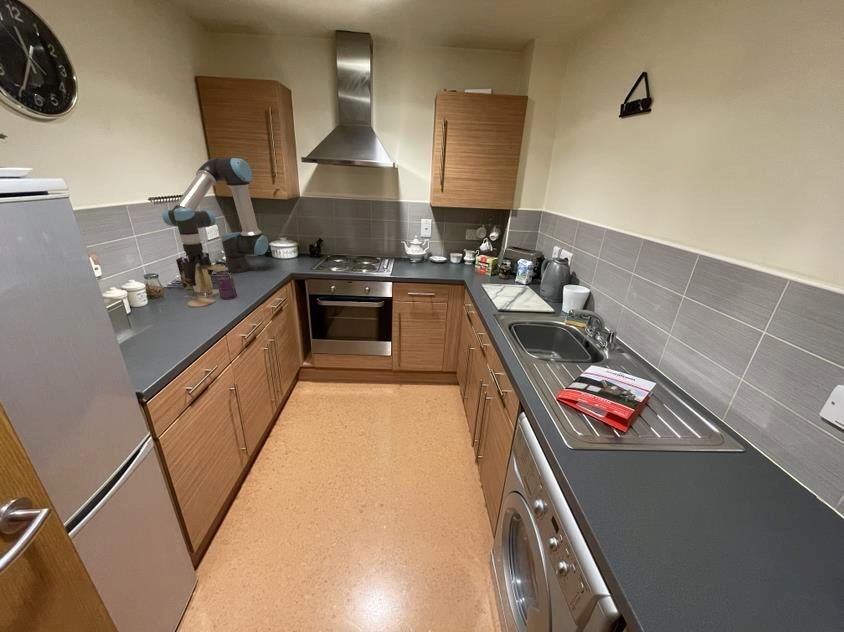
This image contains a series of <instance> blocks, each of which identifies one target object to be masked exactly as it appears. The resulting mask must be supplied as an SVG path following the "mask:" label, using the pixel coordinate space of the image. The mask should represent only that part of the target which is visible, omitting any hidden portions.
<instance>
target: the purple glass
mask: <svg viewBox="0 0 844 632" xmlns="http://www.w3.org/2000/svg"><path fill="white" fill-rule="evenodd" d="M215 280H216V284H217V290H219V293H220V294H219V296H220V297H219V298H221V299H223V300H230V299H234V298H236V297H237V296H238V295H237V289H236V285H235V280H234V277H233V275H232V273H229V272H226V271H223V272H220V273H217V274H216V278H215Z"/></svg>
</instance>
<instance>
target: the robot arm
mask: <svg viewBox="0 0 844 632" xmlns="http://www.w3.org/2000/svg"><path fill="white" fill-rule="evenodd" d="M195 175H196V177H195V178H194V179H193V181H192V182H191V184H190V185H189V186H188V187H187V188H186V190H185V191H184V193H183V194H182V196H181V197H180V198H179V199H178V201H177V203H176V204H175V205H174V207H173V208H172V209H167V210H165V211H164V210H163V213H162V220H163V222H164V223H165V224H166V225H168V226H172V227H177V229H178V234H179V237H180V241H181V243H182V249H183V251H184V252H185V256H184V258H181V261H182V263H183V268H184V274H185V278H186V279H190V281H191V285H192V286H193V288H194V289H193V291H194V292H200V288H199V284H198V280H197V279H195V273H196V265H197V263H199V264H200V265H206V266H213V265H212V261H211V259H210V253H209V252H203V250H204V247H203V244H202V242H201V241H202V239H201V237H200V236H201V235H200V233H199V229H202V228H209V227H212V226H214V225H215V224H216V221H217V218H216V216H215V214H214V213H213V212H211V211H210V210H197V208H198V206H199V205H200V204H201V203H202V201H203V199H204V198H205V196H206V195H207V193H208V192H209V190H210V189H211V188H212V187H213V186H215V185H216V184H217V183H218V182H225V183H226V186H227V187H228V188H230V190H231V194H232V196H233V197H232V198H233V200H234V204H235V207H236V208H235V209H236V212H237V214H238V215H237V216H238V218H239V219H238V220H239V224H240V226H241V230H242V231H241V232H240V231H237V232H230V233H225V234H222V235H221V237H220V238H221V244H222V249H223V253H224V256H225V261H224V267H228V270H226V271H225V272H230V273H231V274H233V273H234V274H235V273H236V274H237V273H244V272H248V271H251V270H252V267H253V266H252V265H251V263H250V261H249V259H248V257H247V255H253V256H261V255H264V254H266V253H267V251H268V248H269V239H268V237H267V236H265V235H264V234H263V232H262V230H260V229H259V227H258V223H257V219H256V214H255V211H254V207H253V203H252V200H251V195H250V191H249V186H250V185H251V184H250V182H251V181H252V179H253V172H252V169H251V167H250V164H249V163H247V161H246V160H245V159H242V158H236V157H214V158H211V159H208V160H207V161H206V162H204V163H203V164H201V166H200V167H199V168H198V169H197V171H196V172H195ZM207 271H208V275H209V279H210V283H211V287H212V288H213V282H212V280H213V278H212V275H213V273H214V272H215V270H207Z"/></svg>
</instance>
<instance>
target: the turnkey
mask: <svg viewBox="0 0 844 632" xmlns="http://www.w3.org/2000/svg"><path fill="white" fill-rule="evenodd" d="M207 270H214V271H218V272H221V271H222V272H226V270H228V267H225V266H218V265H217V266H215V265H212V266H206V265H196V273H195V279H197V280H198V284H199V288H200V292H198V293H211V292H213V291H212V289H213V287H211V283H210V279H209V275H208V271H207Z"/></svg>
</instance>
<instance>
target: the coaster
mask: <svg viewBox="0 0 844 632" xmlns="http://www.w3.org/2000/svg"><path fill="white" fill-rule="evenodd" d="M215 303H216V299H215V298H214V297H212V298H199V299H193V300H192V299H191V300H190V301H188V302H187V307H189V308H204V307H207V306H208V307H209V306H211V305H213V304H215Z"/></svg>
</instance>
